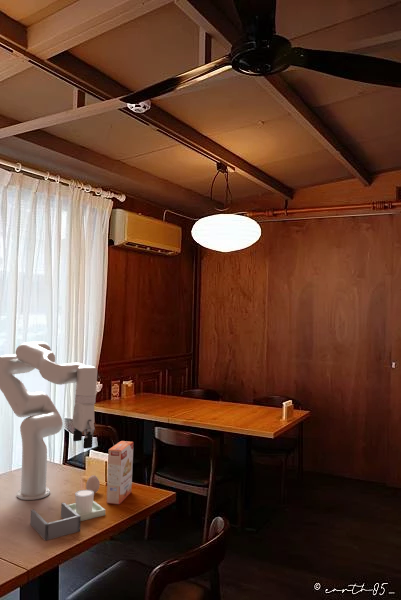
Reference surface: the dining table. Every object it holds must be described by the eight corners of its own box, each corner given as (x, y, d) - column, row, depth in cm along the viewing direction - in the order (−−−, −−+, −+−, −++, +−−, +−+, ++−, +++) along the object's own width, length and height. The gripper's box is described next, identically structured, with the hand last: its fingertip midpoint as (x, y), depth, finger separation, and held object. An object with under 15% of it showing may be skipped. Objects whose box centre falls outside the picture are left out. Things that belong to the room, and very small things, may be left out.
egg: (84, 495, 197) (84, 477, 197) (87, 491, 202) (88, 473, 202) (97, 496, 197) (98, 477, 197) (100, 491, 202) (101, 473, 202)
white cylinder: (70, 514, 178) (71, 494, 178) (81, 506, 184) (82, 488, 184) (86, 517, 175) (87, 497, 175) (97, 510, 182) (97, 491, 182)
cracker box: (120, 505, 188) (122, 450, 189) (105, 503, 189) (107, 449, 190) (132, 492, 202) (134, 441, 202) (118, 490, 203) (120, 440, 204)
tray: (62, 511, 181) (62, 506, 181) (91, 504, 188) (91, 499, 188) (74, 522, 172) (75, 516, 172) (105, 515, 179) (105, 509, 179)
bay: (30, 524, 170) (30, 509, 170) (63, 516, 177) (64, 502, 177) (45, 540, 158) (45, 524, 158) (80, 531, 165) (80, 516, 166)
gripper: (67, 395, 190) (64, 439, 190) (85, 404, 176) (81, 452, 176) (85, 393, 194) (82, 437, 194) (104, 403, 180) (101, 449, 180)
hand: (82, 444), depth 185 cm, fingers open, 9 cm apart
